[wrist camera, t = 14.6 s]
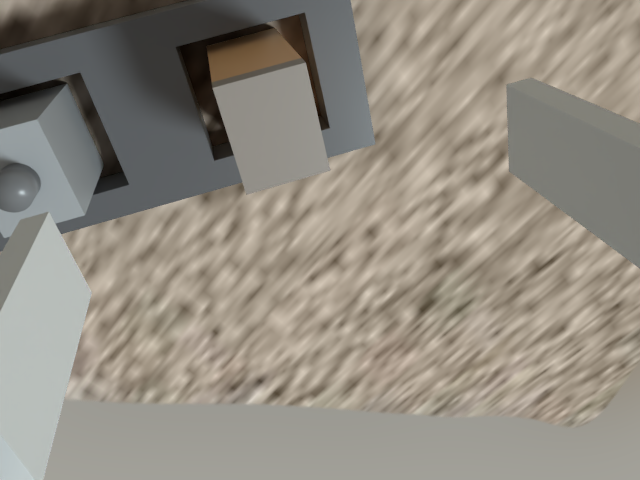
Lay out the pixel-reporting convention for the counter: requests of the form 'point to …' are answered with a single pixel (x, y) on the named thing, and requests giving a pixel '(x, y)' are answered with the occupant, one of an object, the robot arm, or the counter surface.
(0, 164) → the gray fixture base
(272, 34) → the plug
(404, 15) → the counter surface
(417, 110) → the counter surface
